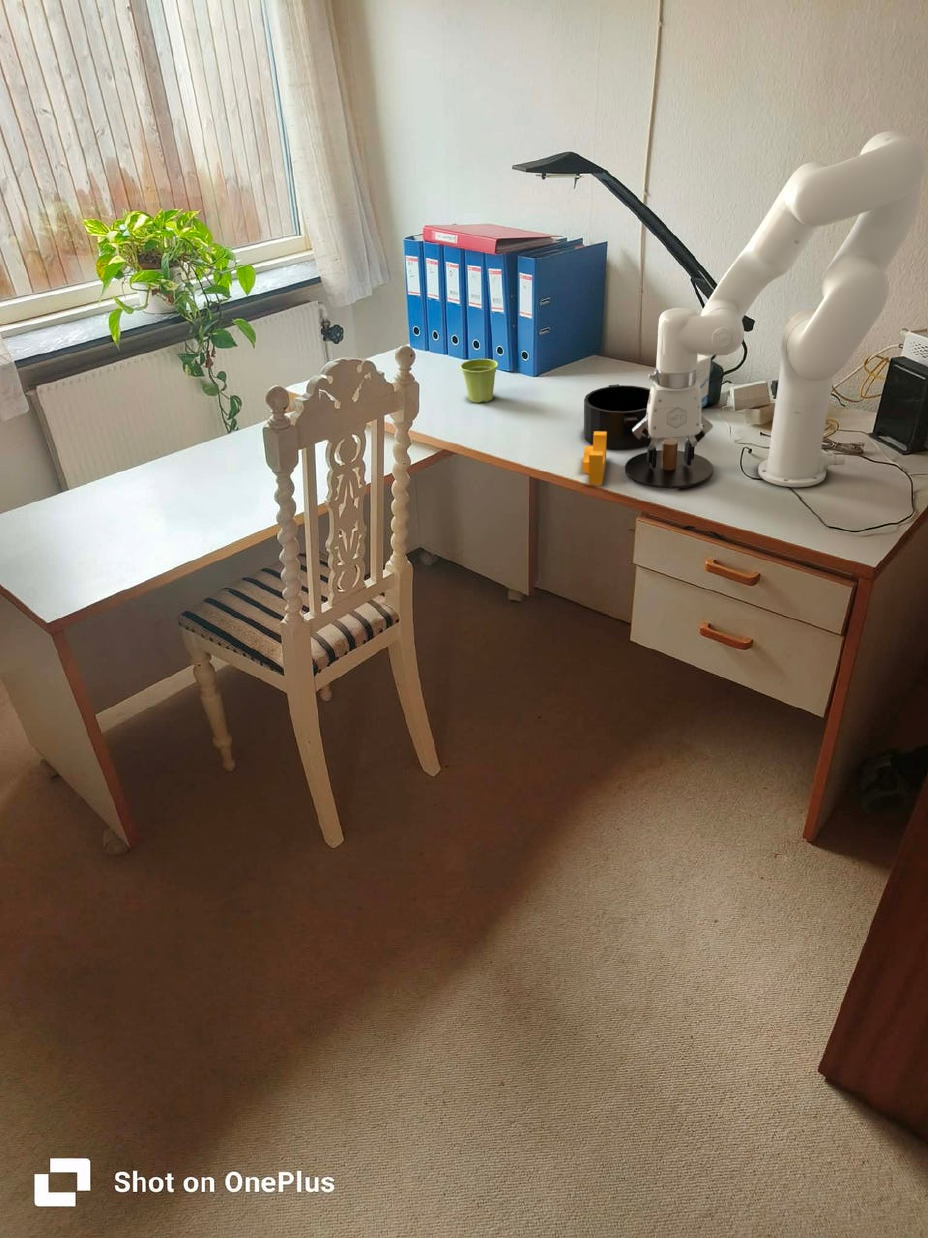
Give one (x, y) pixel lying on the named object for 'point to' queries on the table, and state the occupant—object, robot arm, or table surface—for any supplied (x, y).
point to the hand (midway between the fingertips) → (669, 463)
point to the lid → (669, 468)
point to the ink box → (703, 376)
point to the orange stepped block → (595, 458)
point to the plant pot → (479, 378)
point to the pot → (616, 415)
